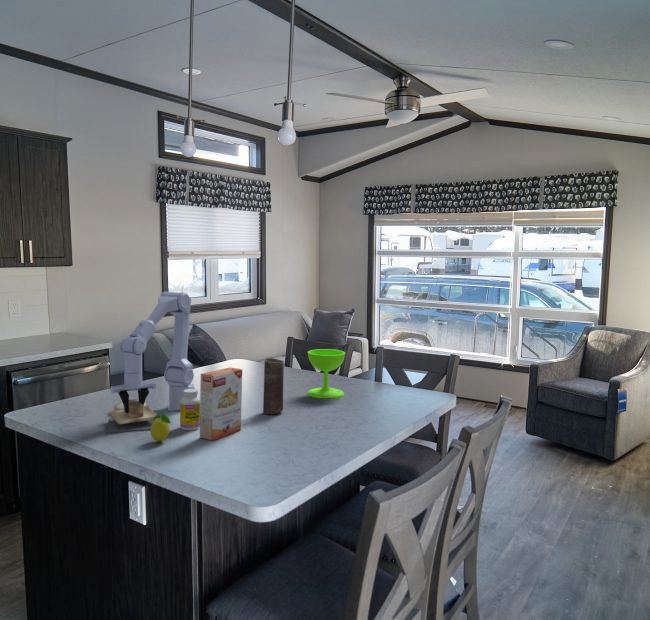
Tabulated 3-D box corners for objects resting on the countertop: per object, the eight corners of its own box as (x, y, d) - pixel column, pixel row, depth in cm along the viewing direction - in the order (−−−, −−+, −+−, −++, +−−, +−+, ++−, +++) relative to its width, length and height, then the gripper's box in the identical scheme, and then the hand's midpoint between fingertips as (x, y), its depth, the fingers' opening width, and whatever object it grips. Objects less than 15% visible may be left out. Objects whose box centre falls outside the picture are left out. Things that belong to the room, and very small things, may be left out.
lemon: (170, 445, 167) (170, 412, 166) (150, 446, 166) (150, 414, 165) (170, 437, 174) (170, 407, 173) (150, 439, 172) (150, 408, 171)
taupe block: (146, 408, 196) (146, 396, 195) (158, 418, 185) (158, 405, 185) (108, 413, 188) (108, 400, 188) (118, 424, 178) (118, 410, 177)
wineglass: (351, 395, 232) (353, 353, 230) (320, 400, 223) (321, 357, 221) (330, 388, 245) (331, 348, 243) (299, 392, 236) (300, 350, 234)
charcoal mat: (157, 415, 197) (157, 414, 197) (159, 429, 182) (159, 427, 182) (109, 419, 192) (109, 417, 192) (107, 433, 177) (107, 431, 177)
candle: (272, 408, 210) (273, 357, 208) (287, 412, 205) (288, 359, 203) (259, 413, 203) (259, 359, 201) (274, 416, 199) (274, 362, 197)
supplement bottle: (182, 432, 180) (182, 393, 178) (178, 426, 186) (178, 389, 184) (202, 429, 183) (203, 391, 182) (197, 424, 189) (197, 387, 187)
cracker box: (213, 441, 171) (213, 375, 169) (198, 438, 174) (199, 373, 172) (242, 430, 183) (243, 368, 181) (228, 427, 186) (229, 366, 184)
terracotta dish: (148, 406, 208) (148, 400, 208) (148, 415, 197) (148, 408, 197) (114, 408, 204) (114, 402, 204) (113, 418, 193) (113, 410, 193)
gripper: (151, 367, 193) (151, 405, 194) (107, 371, 184) (108, 411, 185) (157, 371, 187) (157, 410, 188) (113, 375, 178) (113, 416, 180)
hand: (133, 411), depth 186 cm, fingers closed on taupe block, 4 cm apart
